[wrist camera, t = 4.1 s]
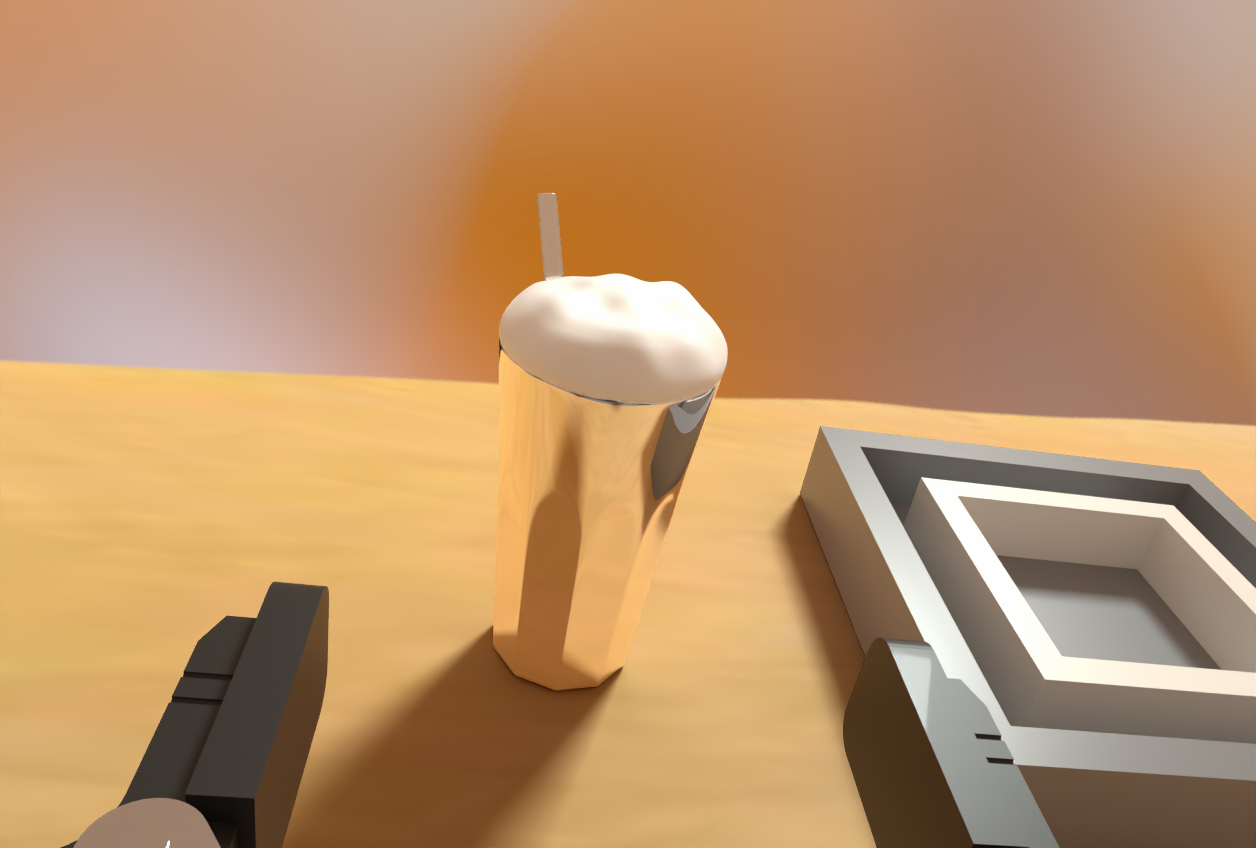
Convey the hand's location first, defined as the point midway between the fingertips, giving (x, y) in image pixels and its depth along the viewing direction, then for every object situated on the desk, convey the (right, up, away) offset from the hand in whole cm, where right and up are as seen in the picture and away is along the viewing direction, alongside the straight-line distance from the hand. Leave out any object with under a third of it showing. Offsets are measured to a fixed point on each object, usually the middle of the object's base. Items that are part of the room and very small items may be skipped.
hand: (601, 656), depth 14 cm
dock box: (+13, -3, +12) cm, 18 cm away
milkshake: (-1, -2, +9) cm, 10 cm away
